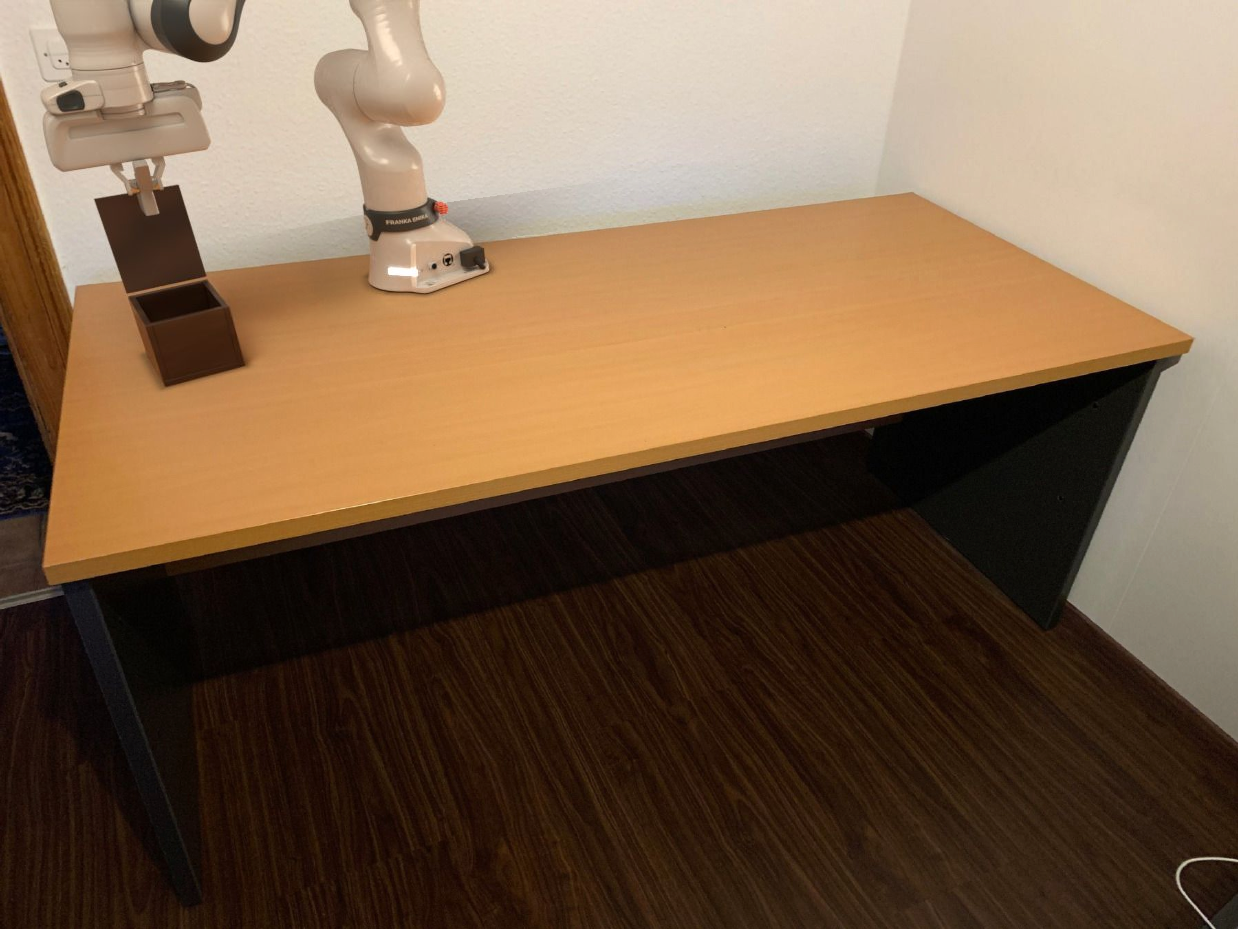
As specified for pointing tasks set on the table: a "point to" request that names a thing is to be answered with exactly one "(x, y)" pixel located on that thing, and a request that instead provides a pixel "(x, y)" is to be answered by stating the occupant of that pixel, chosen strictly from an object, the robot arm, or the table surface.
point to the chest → (187, 331)
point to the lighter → (145, 188)
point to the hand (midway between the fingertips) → (145, 191)
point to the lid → (151, 240)
